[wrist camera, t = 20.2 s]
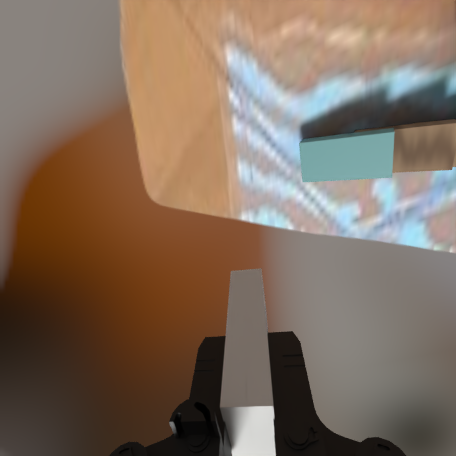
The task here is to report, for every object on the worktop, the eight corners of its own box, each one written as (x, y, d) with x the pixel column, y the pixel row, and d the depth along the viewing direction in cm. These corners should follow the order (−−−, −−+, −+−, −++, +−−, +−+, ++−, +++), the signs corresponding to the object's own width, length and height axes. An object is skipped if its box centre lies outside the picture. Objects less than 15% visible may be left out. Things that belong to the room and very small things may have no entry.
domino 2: (354, 133, 33) (460, 122, 29) (354, 130, 35) (454, 119, 30) (353, 174, 35) (452, 169, 31) (354, 168, 37) (447, 163, 33)
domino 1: (299, 143, 34) (394, 131, 29) (303, 138, 36) (393, 127, 31) (302, 182, 36) (391, 177, 31) (306, 176, 38) (391, 171, 33)
